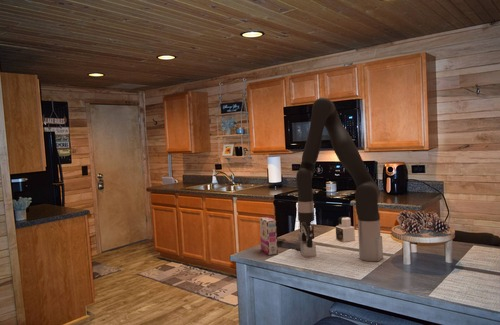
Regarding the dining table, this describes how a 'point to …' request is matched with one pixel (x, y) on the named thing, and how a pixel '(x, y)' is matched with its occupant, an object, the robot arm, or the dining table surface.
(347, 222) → the medicine bottle
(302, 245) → the socket
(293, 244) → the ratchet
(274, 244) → the candy bar box
